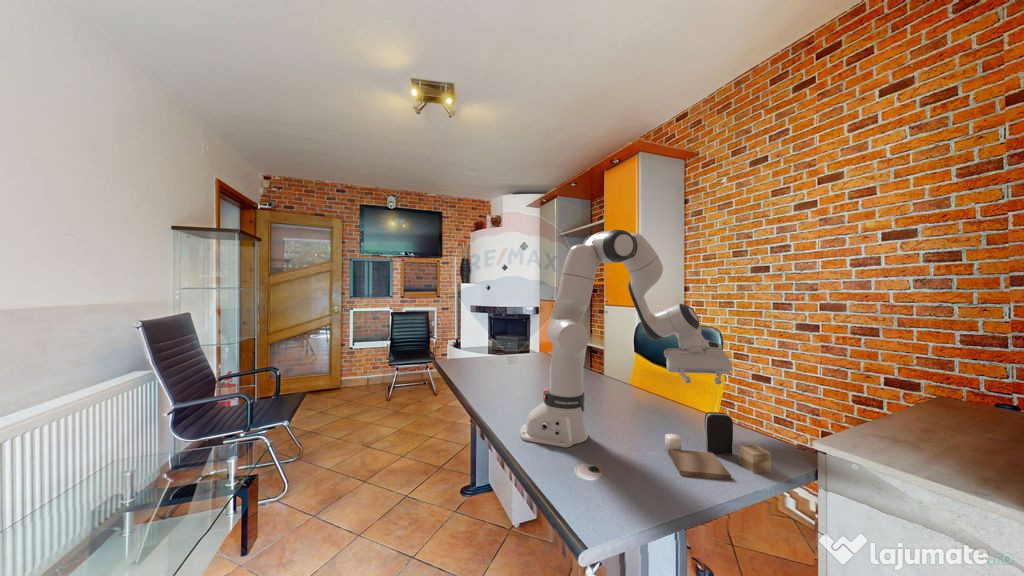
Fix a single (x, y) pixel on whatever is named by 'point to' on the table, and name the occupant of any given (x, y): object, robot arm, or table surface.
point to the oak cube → (755, 458)
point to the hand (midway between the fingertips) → (703, 383)
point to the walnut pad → (698, 464)
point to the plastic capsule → (672, 442)
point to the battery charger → (719, 433)
